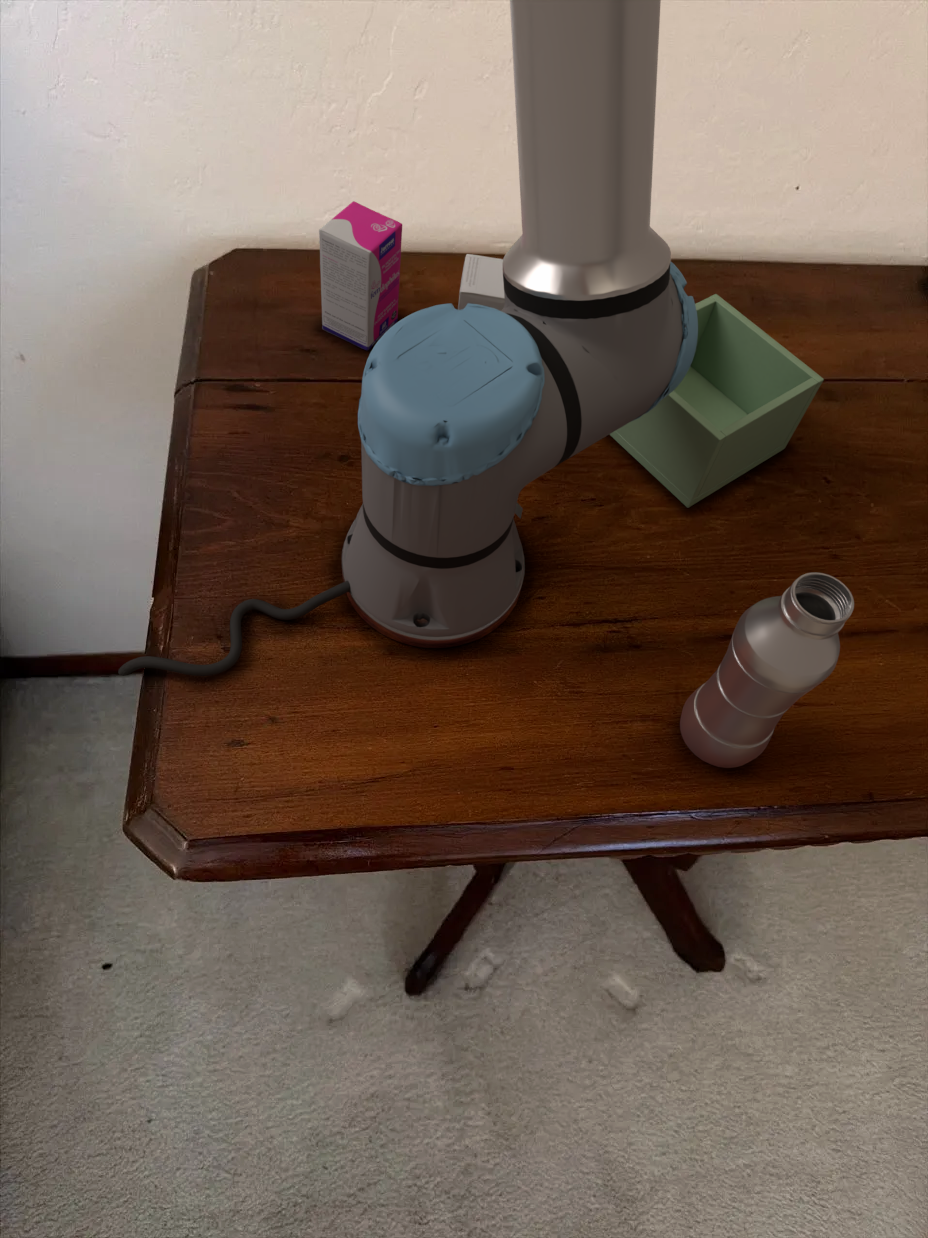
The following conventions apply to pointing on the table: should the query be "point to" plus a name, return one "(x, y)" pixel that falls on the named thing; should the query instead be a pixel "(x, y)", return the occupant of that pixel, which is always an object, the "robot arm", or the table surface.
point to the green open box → (722, 407)
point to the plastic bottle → (767, 670)
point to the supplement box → (360, 274)
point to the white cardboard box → (482, 282)
